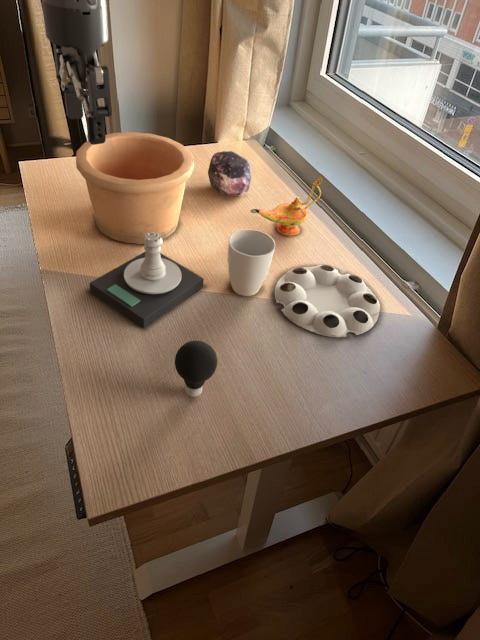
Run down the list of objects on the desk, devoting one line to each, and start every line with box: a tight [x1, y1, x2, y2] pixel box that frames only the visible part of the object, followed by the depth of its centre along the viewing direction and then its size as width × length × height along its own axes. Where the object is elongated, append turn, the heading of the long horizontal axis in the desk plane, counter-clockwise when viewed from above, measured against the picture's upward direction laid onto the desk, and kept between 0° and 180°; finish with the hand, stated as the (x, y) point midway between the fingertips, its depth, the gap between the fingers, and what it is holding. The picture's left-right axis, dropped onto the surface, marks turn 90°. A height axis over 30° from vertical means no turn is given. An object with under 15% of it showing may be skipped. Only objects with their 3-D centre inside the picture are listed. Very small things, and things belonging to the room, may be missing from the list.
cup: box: [227, 228, 276, 297], centre depth 92 cm, size 8×8×10 cm
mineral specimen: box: [207, 150, 252, 198], centre depth 117 cm, size 10×10×10 cm
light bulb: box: [174, 339, 218, 398], centre depth 73 cm, size 6×6×10 cm
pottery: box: [75, 131, 195, 245], centre depth 103 cm, size 22×22×14 cm
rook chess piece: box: [140, 232, 166, 281], centre depth 88 cm, size 4×4×8 cm
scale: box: [89, 250, 205, 328], centre depth 91 cm, size 15×13×3 cm
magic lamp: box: [250, 176, 323, 236], centre depth 107 cm, size 7×18×11 cm, turn 122°
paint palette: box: [274, 264, 381, 338], centre depth 95 cm, size 20×20×2 cm
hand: (85, 130), depth 73 cm, fingers open, 8 cm apart
